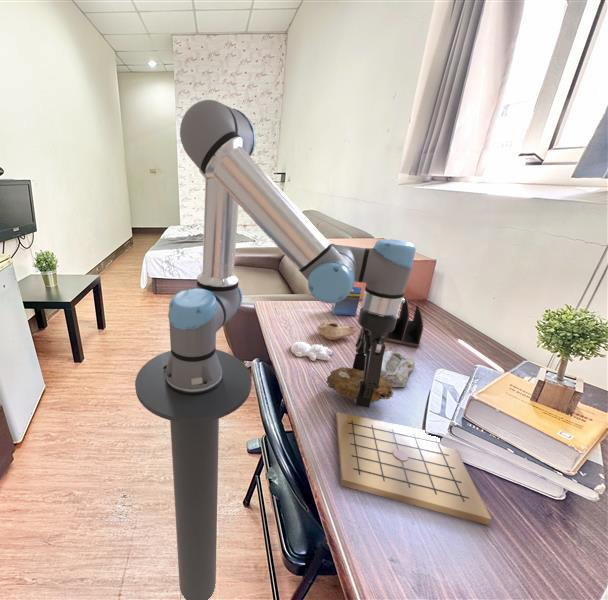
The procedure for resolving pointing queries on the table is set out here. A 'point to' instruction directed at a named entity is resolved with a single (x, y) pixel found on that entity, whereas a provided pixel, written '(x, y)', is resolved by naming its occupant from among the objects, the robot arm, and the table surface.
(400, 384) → the fossil
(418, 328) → the letter holder
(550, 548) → the table surface
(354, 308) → the label tape box
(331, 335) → the pottery oil lamp
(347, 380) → the decorative rock
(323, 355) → the astronaut figurine
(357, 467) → the grid board
